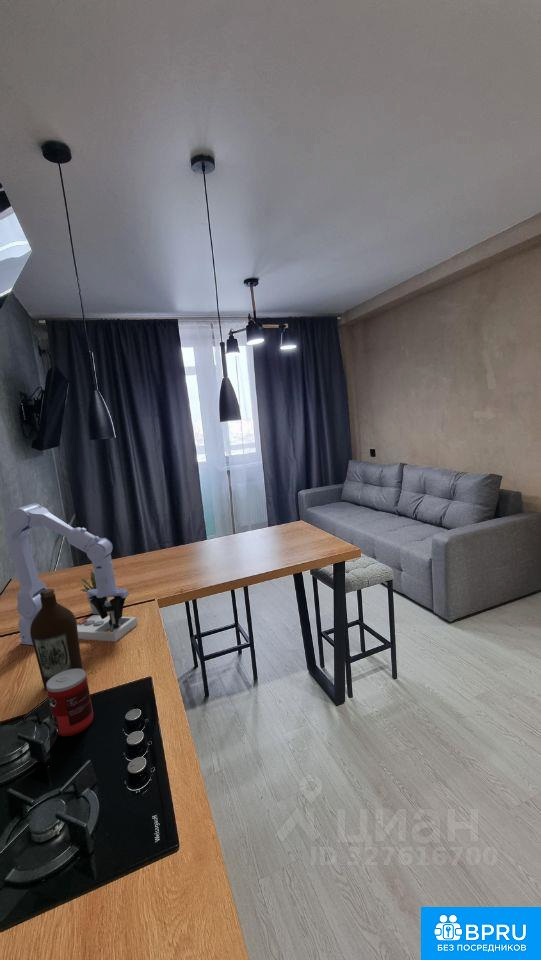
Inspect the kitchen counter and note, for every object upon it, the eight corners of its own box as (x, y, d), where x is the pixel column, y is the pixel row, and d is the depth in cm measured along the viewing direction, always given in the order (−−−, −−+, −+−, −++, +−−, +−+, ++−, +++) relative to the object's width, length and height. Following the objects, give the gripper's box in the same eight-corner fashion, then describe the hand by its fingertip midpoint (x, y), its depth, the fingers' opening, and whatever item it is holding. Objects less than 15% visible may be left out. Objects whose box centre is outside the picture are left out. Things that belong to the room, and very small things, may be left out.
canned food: (63, 715, 96) (54, 671, 95) (99, 710, 97) (90, 665, 95) (48, 740, 88) (38, 692, 87) (87, 733, 89) (78, 685, 88)
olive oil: (48, 675, 114) (31, 587, 111) (89, 666, 116) (73, 580, 113) (35, 699, 104) (16, 603, 101) (81, 688, 106) (63, 594, 103)
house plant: (132, 605, 156) (124, 563, 154) (99, 622, 145) (91, 576, 143) (107, 600, 164) (100, 560, 162) (75, 616, 152) (67, 573, 150)
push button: (124, 633, 134) (119, 603, 132) (106, 637, 132) (101, 607, 131) (123, 625, 140) (119, 596, 139) (106, 629, 138) (101, 600, 137)
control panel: (69, 638, 135) (68, 629, 135) (94, 622, 145) (92, 613, 145) (115, 641, 129) (114, 632, 129) (137, 624, 139) (136, 615, 139)
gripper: (77, 582, 132) (84, 622, 134) (115, 582, 127) (122, 624, 129) (93, 573, 139) (100, 612, 141) (129, 574, 134) (136, 614, 136)
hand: (111, 617), depth 135 cm, fingers closed on push button, 5 cm apart
